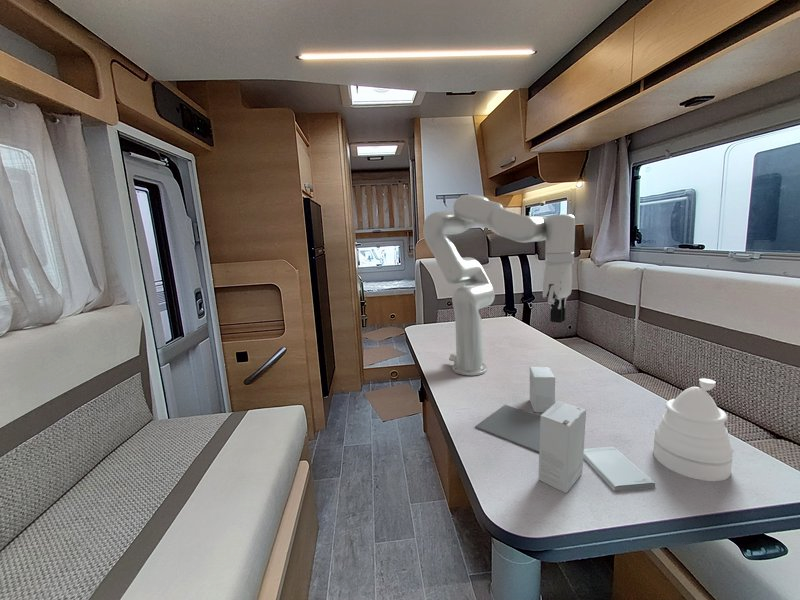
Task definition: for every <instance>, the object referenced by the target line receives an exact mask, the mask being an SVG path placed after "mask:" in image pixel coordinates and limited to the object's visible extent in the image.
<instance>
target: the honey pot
mask: <svg viewBox="0 0 800 600" xmlns="http://www.w3.org/2000/svg"><path fill="white" fill-rule="evenodd" d="M698 381H699V382H698V383H699V386H700V387H699V386H691V387H688V388H686V389H684V390H683V391H682V392H681V393H679V394H678V396H676V398H671V399H669V400H667V401H666V402H665V409H666V411H665V413H663V415H662V416H661V420H660V421H659V422H658V423H659V424H658V425H657V426H656V427H655V429H654V440H653V441H654V442H653V451H652V452H653V456H654V458H655V459H656V460H657V461H658V462H659V463H660V464H662V465H663V466H664V467H666V468H667V469H668V470H671V471H673V472H675V473H677V474H680V475H682V476H685V477H688V478H692V479H695V480H699V481H706V482H720V481H725V480H727V479H728V478H730V476H731V475H732V474H731V473H732V468H733V467H732V465H733V457H734V454H733V453H734V448H733V444H732V442H731V439H730V435H729V430H728V429H727V427H726V425H725V423H726V422H727V420H728V414H727V413H726V412H725V411H724V410H723V409H721V408H720V407H718V406H717V404H716V401H715V400H714V399H713V398H712V396H711V395H710V393H708V392H707V391H711V390H713V389H714V388H715V386H716V383H717V382H716V381H715V380H713V379H710V378H705V377H702V378H699V379H698Z"/></svg>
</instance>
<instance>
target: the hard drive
mask: <svg viewBox="0 0 800 600" xmlns="http://www.w3.org/2000/svg"><path fill="white" fill-rule="evenodd" d="M583 460H585V461H586V462H587V463H588V465H590V466H591V467H592V468H593V469H594V471H595V472H596V473H597V475H599V476H600V477H601V478H602V480H604V482H605V483H606V484H607V485H608V486H609V487H610V488H611V489H612V491H614V492H621V491H629V490H643V489H651V488H652V489H653V488H656V482H654V481H653V480H652V479H651V478H650V477H649V476H648V475H647V474H646V473H644V472H643V471H642V470H641V469H639V467H638V466H636V465H635V464H634V463H633V462H632V461H631V460H629V458H627V457H626V456H625V454H623V453H622V452H621V451H619V450H618V449H617V448H616V447H614V445H613V446H611V445H610V446H600V447H590V448H584V454H583Z"/></svg>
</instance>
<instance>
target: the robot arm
mask: <svg viewBox="0 0 800 600" xmlns="http://www.w3.org/2000/svg"><path fill="white" fill-rule="evenodd" d="M452 207H453V210H452V211H447V210H445V211H444V210H440V211H434V212H431V213H430V214H429V215H428V216H426V218H425V219H424V222H423V227H422V230H423V231H422V232H423V239H424V241H425V242H426V243H425V244H426V245H427V247H428V248H429V250H430V252H431V254H432V255H433V257H434V258H435V261H436V263H437V265H438V267H439V269H440V271H441V273H442V275H443V277H444V279H445V281H446V282H447V283H448V284H449V285H451V286H457V285H458V286H459V285H462V286H460V287H458V288H456V289H455V290H454V292H453V294H452V297H451V301H452V302H451V303H452V307H453V311H454V319H455V322H454V324H455V353H456V354H454V353H451V354H450V355H449V358H448V360H449V361H450V362H453V365H452V371H453V372H454V373H456V374H458V375H461V376H468V377H469V376H471V377H472V376H473V377H474V376H478V375H479V376H480V375H483V374H485V373H486V372H487V371H488V366H487V365H486V364H485V363H483V361H484V360H483V359H484V357H483V321H482V316H481V315H480V312H479V310H480V309H485V308H487V307H489V306H491V305H492V304H493V302H495V301H494V300H495V297H496V295H495V290H494V286H493V285H492V282H491V281H490V279H489V277H488V275H487V273H486V271H485V270H484V268H483V266H482V264H481V263H480V261H478V260H477V259H475V258H474V257H470V256H469V257H468V256H465V257H462V256H461V255H460V253H459V251H458V250H457V247H456V246H455V244H454V243H453V242H452V241H451V240H450V239H449V238H448V237H447V236H450V235H460V234H462V233H464V232H466V231H468V230H470V229H471V228H473V227H474V226H477V225H478V226H480V227H483V228H486V229H489V230H490V231H491V232H493V233H494V234H496V235H497V236H499V237H502V238H505V239H508V240H511V241H514V242H517V243H522V244H523V243H533V242H535V243H536V242H543V241H545V249H544V251H545V253H544V254H545V257H544V258H545V259H544V264H545V267H544V273H543V284H542V298H543V299H547V304H549V308H550V317H549V319H550V322H551V323H557V324H560V323H561V324H562V322H565V321H566V307H567V300H568V298H569V296H570V295H571V294H572V291H573V290H572V289H573V288H572V287H573V270H572V269H573V267H572V265H574V263H575V239H576V236H575V235H576V218H575V216H574V215H573V214H568V213H567V214H553V215H550V216H544V215H523V214H518V213H515V212H511V211H508V210H505V209H504V206H503V205H502V203H500V202H496V201H492V200H489V198H488V197H485V196H484V195H481V194H480V195H479V194H478V195H476V194H463V195H460V196H459V197H457V199H455V201H454V203H453V206H452ZM463 284H465V285H463Z"/></svg>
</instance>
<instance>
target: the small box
mask: <svg viewBox="0 0 800 600" xmlns="http://www.w3.org/2000/svg"><path fill="white" fill-rule="evenodd" d="M529 401H530V404H531V408H532V410H533V412H534V413H544V412H545V411H547V410H548V409H549V408H550V407H551V406H552V405H554V404H555V403H556V376H555V374H554V373H553V371H552V369H551V368H550V367H548V366H546V367H545V366H544V367H543V366H529Z"/></svg>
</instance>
